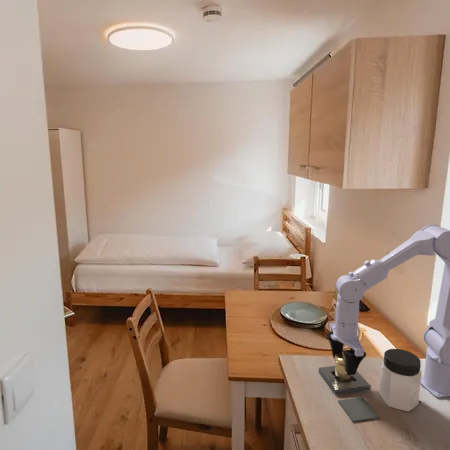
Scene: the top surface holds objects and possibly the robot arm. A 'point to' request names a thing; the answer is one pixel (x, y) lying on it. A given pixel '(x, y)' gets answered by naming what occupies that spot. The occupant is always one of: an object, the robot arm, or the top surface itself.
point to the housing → (343, 388)
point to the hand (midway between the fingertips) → (343, 365)
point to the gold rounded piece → (341, 369)
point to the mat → (358, 409)
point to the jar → (400, 379)
